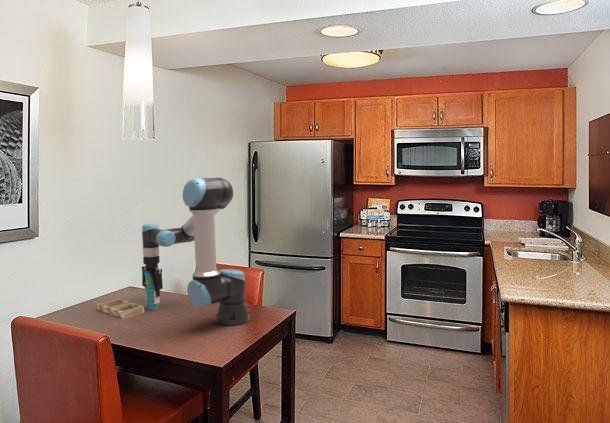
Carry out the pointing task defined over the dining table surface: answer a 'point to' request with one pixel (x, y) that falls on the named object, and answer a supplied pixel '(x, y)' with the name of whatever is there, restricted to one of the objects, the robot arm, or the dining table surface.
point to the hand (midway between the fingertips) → (152, 301)
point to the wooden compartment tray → (120, 308)
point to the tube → (150, 291)
